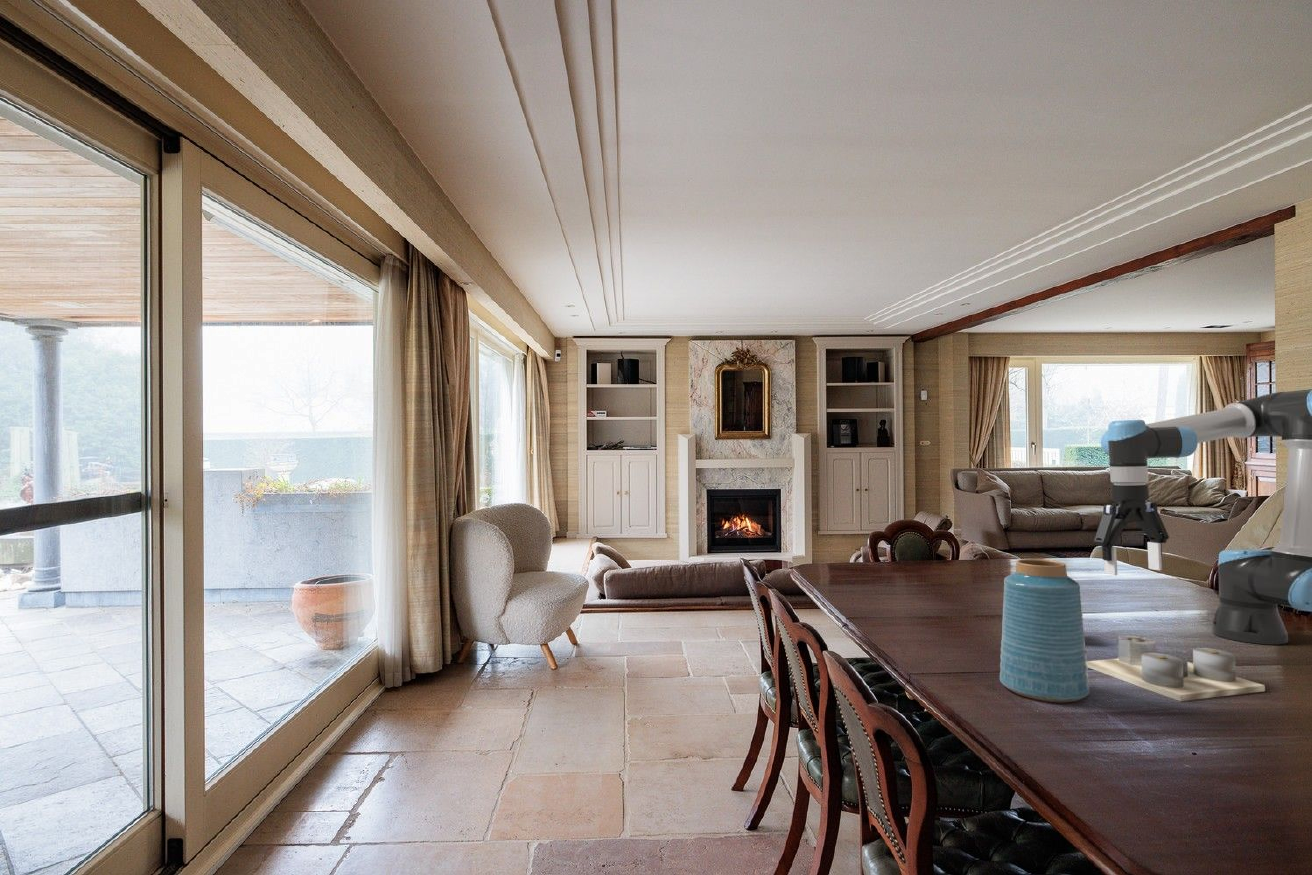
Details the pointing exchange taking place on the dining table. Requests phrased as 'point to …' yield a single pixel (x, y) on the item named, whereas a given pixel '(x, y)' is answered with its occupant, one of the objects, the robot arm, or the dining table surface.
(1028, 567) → the vase
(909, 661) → the dining table surface
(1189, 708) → the dining table surface
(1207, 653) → the carrier
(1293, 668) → the dining table surface
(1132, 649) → the octagonal tube
